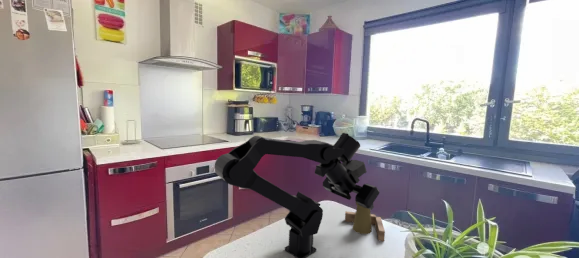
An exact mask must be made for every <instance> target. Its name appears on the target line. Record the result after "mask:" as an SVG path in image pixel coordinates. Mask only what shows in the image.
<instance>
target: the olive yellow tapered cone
mask: <svg viewBox="0 0 579 258" xmlns="http://www.w3.org/2000/svg"><path fill="white" fill-rule="evenodd" d="M355 205H356V210H355V212H356V214H355V219H354V223H352V225H353V226H352V230H353V231H354V232H355V233H357V234H361V235H369V234H372V231H373V230H372V225H371V214H372V213H371V210H370V209H367V208H364V207H362V206H360V205H358V203H357V202H356V201H355Z"/></svg>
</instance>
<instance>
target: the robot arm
mask: <svg viewBox="0 0 579 258" xmlns="http://www.w3.org/2000/svg"><path fill="white" fill-rule="evenodd" d="M360 147H361V143H360V142H359V141H358V140H356V138H354V137H352V136H350V135H349V134H348V133H345V132H342V133H341V134H340V135H339V138H338V139H337V140H336V142H334V144H333V145H332V144H331V143H329V142H325V141H321V140H317V139H308V140H304V141H303V140H302V141H292V140H285V139H278V138H270V137H263V136H260V135H253V136H251V137H250V138H249V139H247V140H246V141H245V142H243V143H242V144H240V145H237V146H236V147H233V149H232V150H230V151H229V152H227V153H224V154H221V155H220V156H218V157H217V159H216V160H215V162H214V172H215V174H216V175H217V176H219V178H220V179H222V180H223V182H225V183H227V184H228V185H231V186H234V187H236V188H241V189H247V190H251V191H254V192H255V193H257V194H259V195H260V196H262V197H264V198H267V199H268V200H270V201H272V202H273V203H276V204H277V205H279V206H281V207H283V208H285V209H287V210H288V211H289V212H288V213H287V214H286V216H285V217H284V222H285V225H287V226H289V227H290V229H289V230H288V245H287V246H285V247H284V250H285V252H288V253H289V254H291V255H293V257H296V258H307V257H309V256H310V255H312V254H314V253H315V252H317V250H318V249H317V248H316V247H315V246H314V236H315V235H317V234H318V233H319V230H320V226H321V223H322V220H323V214H324V211H323V208H322V207H320V206H321V203H319V202H318V201H315V200H314V199H312V198H311V197H309V196H307V195H305V194H304V193H302V192H300V191H297V193H296V195H293V194H291V193H289V192H288V191H286V190H284V189H282V188H281V187H279V186H277V185H276V184H274V183H272V182H271V181H269V180H267V179H265V178H264V177H262V176H260V175H259V174H258V173H257V172H256V171H255V170H254V169H255V168H256V167H257V166H258V164H259V162H260V161H261V160H262V157H264V156H265V155H272V156H273V155H274V156H283V157H293V158H294V157H295V158H304V159H306V160H310V161H313V162H317V163H319V164H317V165H315V169H314V174H315V175H317V176H319V177H321V178H324V177H325V176H326V178H325V179H324V180H323V182H322V187H323V188H324V190H326V191H327V192H330V193H332V194H334V195H337V196H338V197H342V198H344V199H346V200H348V201H350V200H351V199H352V196H351V194H350V193H354V194H356V195H355V200H354V201H355V203H356V202H357V203H358V205H360V206H362V207H364V208H367V209H370V211H373V210H374V207H375V206H374V202H376V200H377V198H378V196H379V195H380V190H379V188H378V187H377V186H376V185H372V184H369V183H364V184H362V186H361V185H359V182H360V179H359V178H361V177H362V176H363V175H364V174H366V173H367V168H366V165H365V164H366V163H365V162H364V161H361V160H357V159H352V158H353V157H354V156H355V154H356V153H357V152H358V150H359V149H360Z"/></svg>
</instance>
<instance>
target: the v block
mask: <svg viewBox="0 0 579 258" xmlns="http://www.w3.org/2000/svg"><path fill="white" fill-rule="evenodd" d="M344 213H345V214H344V222H347V223H352V224H354V219H355V214H356V211H347V210H346V211H345V212H344ZM371 226H375V230H376V231H375V232H376V235H377V239H378V241H381V242H385V238H386V237H385V234H386V231H385V227H384V225H383V220H382V217H380V216H376V214H373V213H371Z"/></svg>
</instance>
